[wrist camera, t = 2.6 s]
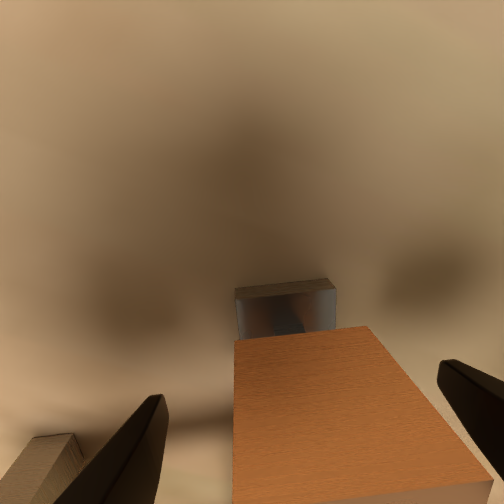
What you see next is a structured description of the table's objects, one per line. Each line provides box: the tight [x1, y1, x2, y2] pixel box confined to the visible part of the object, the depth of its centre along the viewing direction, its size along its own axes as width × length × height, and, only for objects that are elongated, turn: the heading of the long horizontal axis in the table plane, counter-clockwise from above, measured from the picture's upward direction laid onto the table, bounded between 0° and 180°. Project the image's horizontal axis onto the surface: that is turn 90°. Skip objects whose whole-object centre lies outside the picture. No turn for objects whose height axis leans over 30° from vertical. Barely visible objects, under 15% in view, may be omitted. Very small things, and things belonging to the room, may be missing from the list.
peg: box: [232, 278, 494, 504], centre depth 8 cm, size 4×4×8 cm
